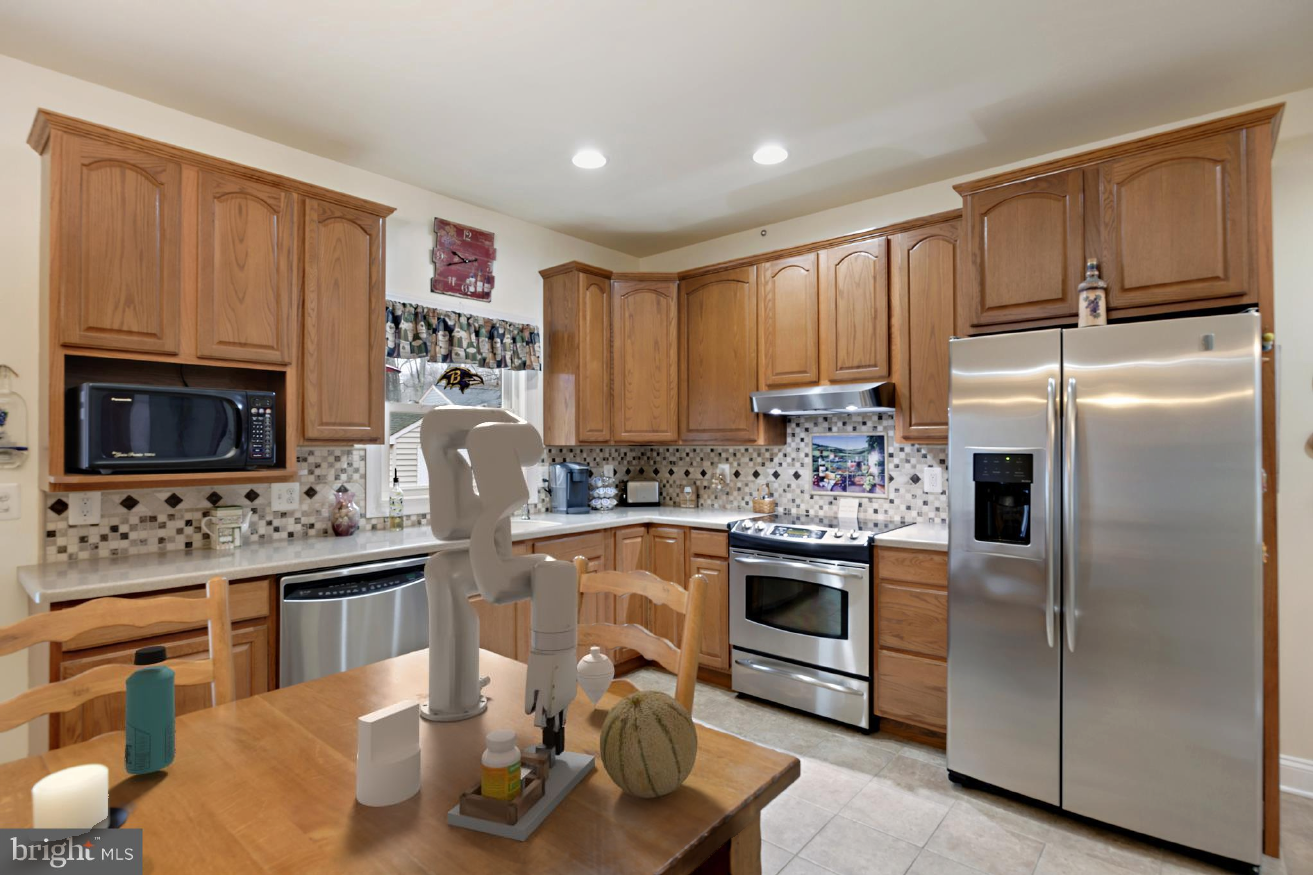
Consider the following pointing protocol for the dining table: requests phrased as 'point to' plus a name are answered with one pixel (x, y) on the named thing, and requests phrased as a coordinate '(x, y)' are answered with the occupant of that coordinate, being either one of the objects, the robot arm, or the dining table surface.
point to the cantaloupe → (648, 744)
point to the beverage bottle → (150, 713)
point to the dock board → (557, 787)
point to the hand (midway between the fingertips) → (553, 752)
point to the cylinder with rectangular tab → (389, 755)
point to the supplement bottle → (501, 766)
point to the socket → (502, 802)
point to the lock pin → (533, 768)
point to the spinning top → (595, 674)
